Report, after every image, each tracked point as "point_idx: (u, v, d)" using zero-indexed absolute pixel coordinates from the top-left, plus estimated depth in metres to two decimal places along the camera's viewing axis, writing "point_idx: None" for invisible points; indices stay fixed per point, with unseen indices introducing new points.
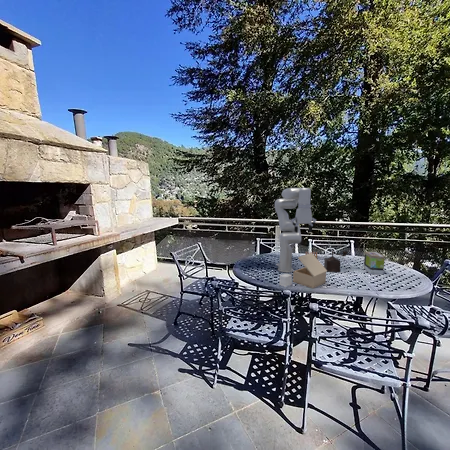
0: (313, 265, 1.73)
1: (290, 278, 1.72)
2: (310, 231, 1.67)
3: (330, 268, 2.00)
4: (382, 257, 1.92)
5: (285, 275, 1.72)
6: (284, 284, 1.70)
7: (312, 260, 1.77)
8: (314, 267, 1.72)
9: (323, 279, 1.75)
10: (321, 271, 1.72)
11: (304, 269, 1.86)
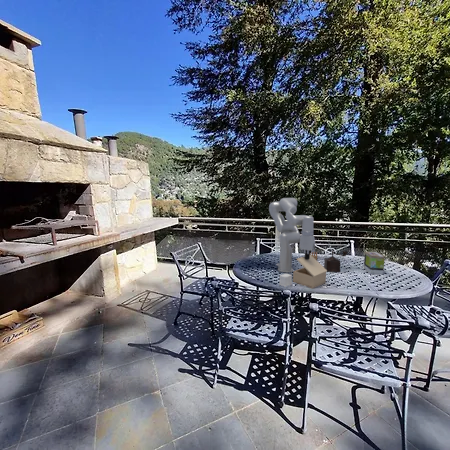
0: (312, 265, 1.74)
1: (290, 278, 1.72)
2: None
3: (330, 268, 2.00)
4: (382, 257, 1.92)
5: (285, 275, 1.72)
6: (284, 284, 1.70)
7: (311, 261, 1.78)
8: (314, 267, 1.73)
9: (323, 279, 1.75)
10: (321, 271, 1.72)
11: (304, 269, 1.86)
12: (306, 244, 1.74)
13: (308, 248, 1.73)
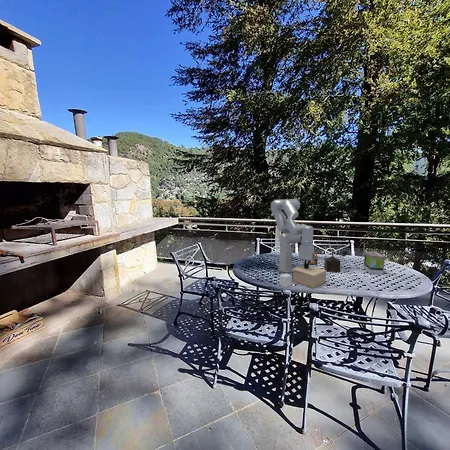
0: (309, 270, 1.76)
1: (290, 278, 1.72)
2: None
3: (330, 268, 2.00)
4: (382, 257, 1.92)
5: (285, 275, 1.72)
6: (284, 284, 1.70)
7: None
8: (311, 270, 1.74)
9: (323, 279, 1.75)
10: (320, 271, 1.73)
11: None
12: (305, 254, 1.75)
13: (307, 258, 1.74)
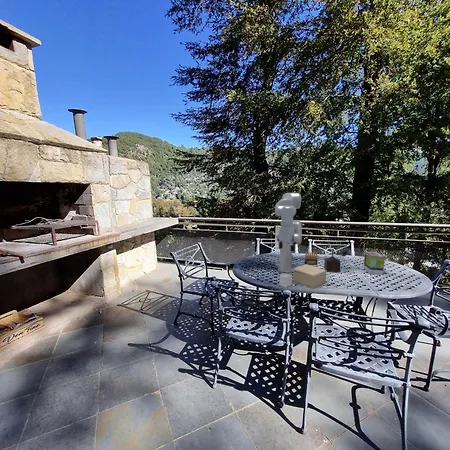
0: (309, 270, 1.76)
1: (290, 278, 1.72)
2: (282, 247, 1.74)
3: (330, 268, 2.00)
4: (382, 257, 1.92)
5: (285, 275, 1.72)
6: (284, 284, 1.70)
7: (308, 267, 1.80)
8: (311, 270, 1.74)
9: (323, 279, 1.75)
10: (320, 271, 1.73)
11: None
12: (285, 236, 1.66)
13: (287, 240, 1.65)
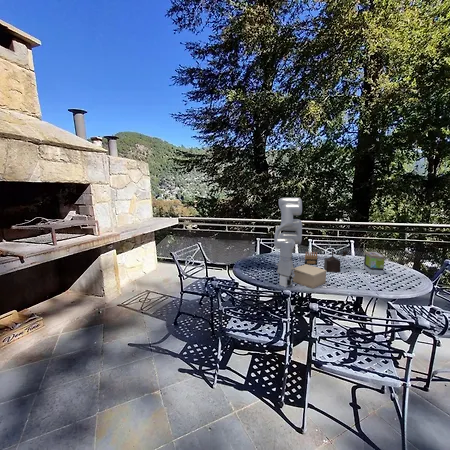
0: (309, 270, 1.76)
1: None
2: None
3: (330, 268, 2.00)
4: (382, 257, 1.92)
5: None
6: (284, 284, 1.70)
7: (308, 267, 1.80)
8: (311, 270, 1.74)
9: (323, 279, 1.75)
10: (320, 271, 1.73)
11: None
12: (284, 269, 1.69)
13: (286, 274, 1.68)
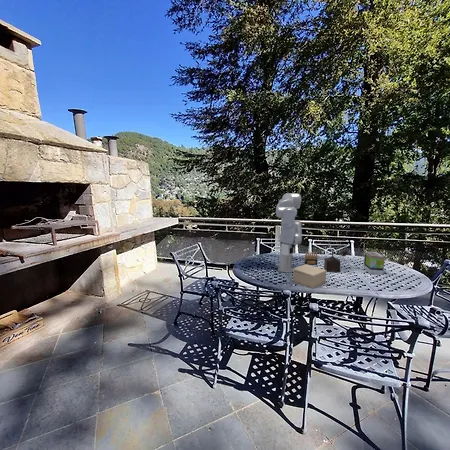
0: (309, 270, 1.76)
1: None
2: None
3: (330, 268, 2.00)
4: (382, 257, 1.92)
5: (287, 243, 1.70)
6: (286, 252, 1.67)
7: (308, 267, 1.80)
8: (311, 270, 1.74)
9: (323, 279, 1.75)
10: (320, 271, 1.73)
11: None
12: (286, 237, 1.67)
13: (288, 241, 1.66)
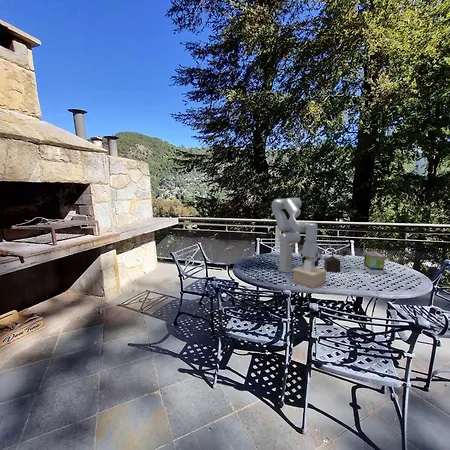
0: None
1: None
2: None
3: (330, 268, 2.00)
4: (382, 257, 1.92)
5: (310, 260, 1.75)
6: (309, 268, 1.73)
7: None
8: None
9: (323, 279, 1.75)
10: (320, 271, 1.73)
11: None
12: (309, 251, 1.72)
13: (311, 256, 1.72)
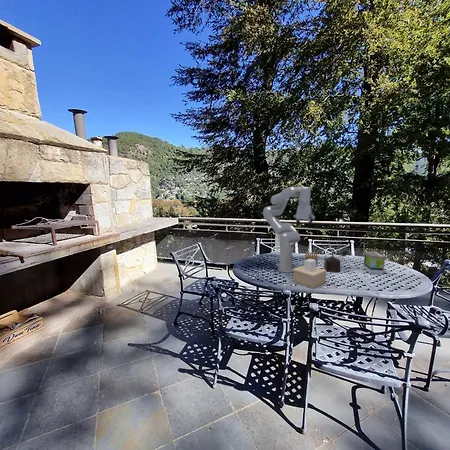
0: None
1: (315, 263, 1.75)
2: (299, 225, 1.89)
3: (330, 268, 2.00)
4: (382, 257, 1.92)
5: (310, 260, 1.75)
6: (309, 268, 1.73)
7: None
8: None
9: (323, 279, 1.75)
10: (320, 271, 1.73)
11: None
12: (303, 214, 1.80)
13: (305, 217, 1.80)
